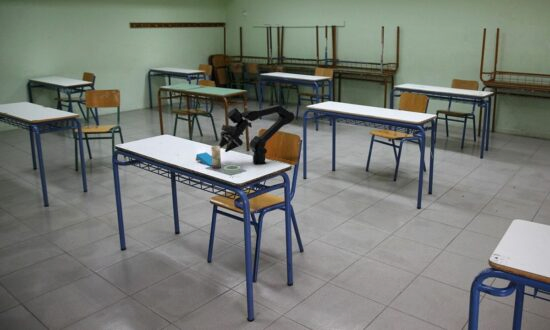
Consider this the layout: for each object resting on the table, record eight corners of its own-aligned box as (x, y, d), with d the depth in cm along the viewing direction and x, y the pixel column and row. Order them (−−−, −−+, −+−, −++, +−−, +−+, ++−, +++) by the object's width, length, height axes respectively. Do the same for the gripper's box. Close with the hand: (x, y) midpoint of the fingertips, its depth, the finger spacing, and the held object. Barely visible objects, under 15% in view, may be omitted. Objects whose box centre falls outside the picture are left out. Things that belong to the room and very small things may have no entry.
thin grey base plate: (204, 170, 264) (204, 163, 263) (220, 165, 273) (220, 159, 272) (231, 177, 250) (230, 171, 249) (247, 173, 258) (247, 166, 257)
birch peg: (220, 166, 268) (219, 145, 264) (222, 168, 263) (221, 147, 260) (211, 167, 266) (210, 146, 263) (213, 169, 261) (212, 148, 258)
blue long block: (219, 173, 274) (201, 159, 285) (220, 163, 271) (202, 149, 282) (209, 176, 270) (191, 162, 281) (210, 165, 267) (192, 151, 278)
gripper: (222, 116, 270) (205, 138, 267) (237, 121, 254) (219, 144, 252) (235, 129, 276) (218, 150, 273) (250, 134, 260) (232, 156, 258)
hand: (222, 150), depth 264 cm, fingers open, 9 cm apart
